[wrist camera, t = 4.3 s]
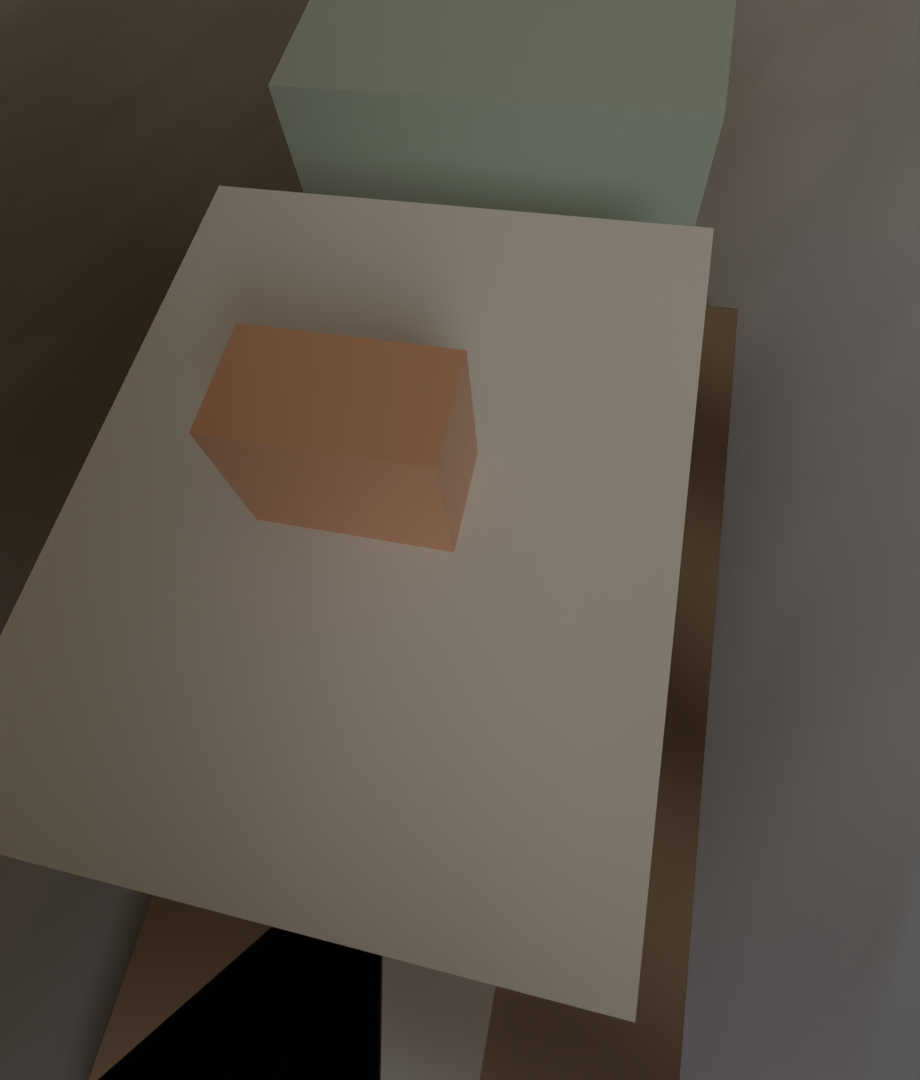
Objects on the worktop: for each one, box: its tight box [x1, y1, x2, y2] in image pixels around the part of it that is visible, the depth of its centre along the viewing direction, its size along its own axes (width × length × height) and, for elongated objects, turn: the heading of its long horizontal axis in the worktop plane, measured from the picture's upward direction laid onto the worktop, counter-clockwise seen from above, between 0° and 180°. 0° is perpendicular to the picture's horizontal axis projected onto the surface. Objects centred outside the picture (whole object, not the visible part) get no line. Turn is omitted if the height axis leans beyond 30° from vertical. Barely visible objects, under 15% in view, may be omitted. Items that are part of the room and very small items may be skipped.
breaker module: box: [0, 186, 714, 1022], centre depth 10 cm, size 7×6×10 cm
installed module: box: [268, 0, 736, 227], centre depth 14 cm, size 6×6×9 cm
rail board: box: [89, 306, 738, 1080], centre depth 15 cm, size 21×10×2 cm, turn 168°
